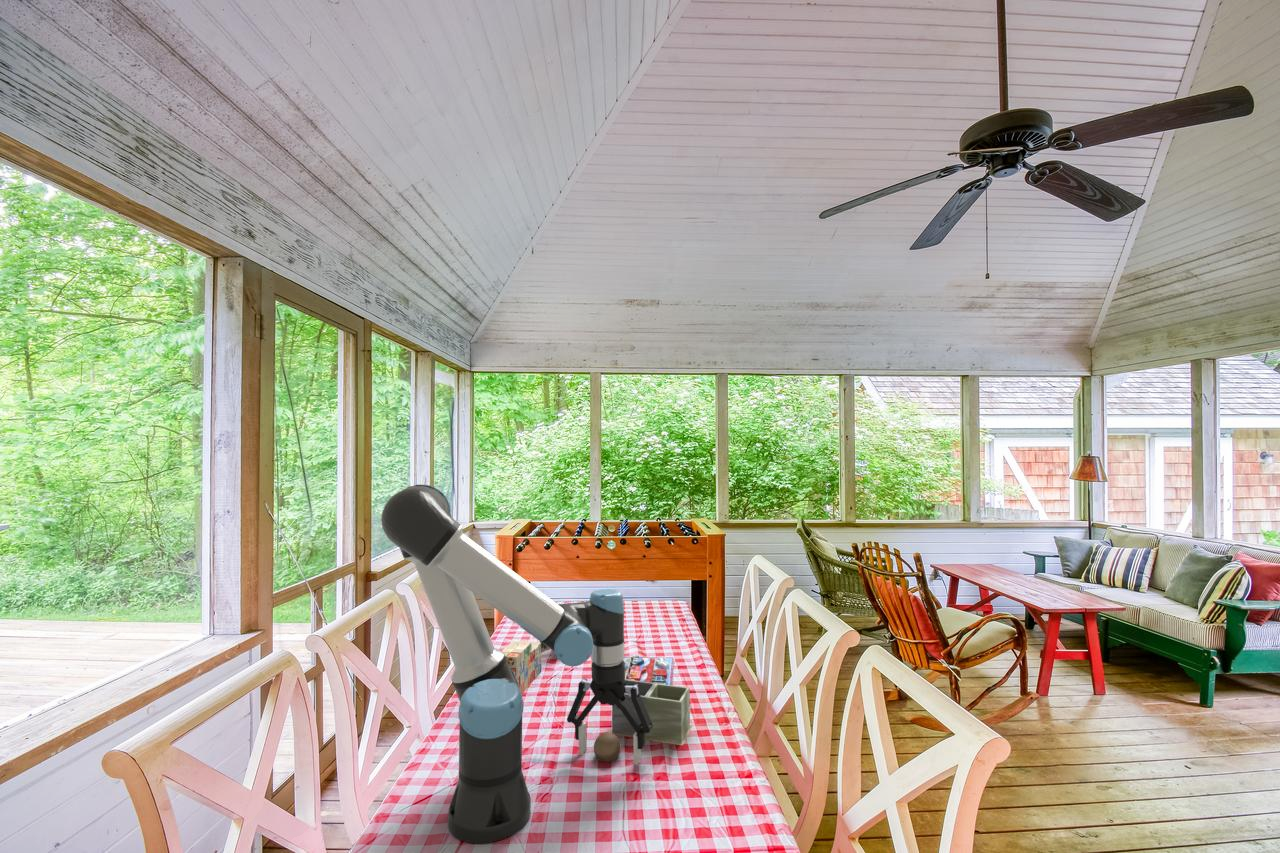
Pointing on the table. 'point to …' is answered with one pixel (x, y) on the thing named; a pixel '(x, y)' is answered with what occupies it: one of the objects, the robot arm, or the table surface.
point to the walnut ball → (607, 747)
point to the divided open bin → (658, 712)
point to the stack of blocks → (524, 661)
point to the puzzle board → (649, 669)
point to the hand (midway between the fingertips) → (609, 758)
